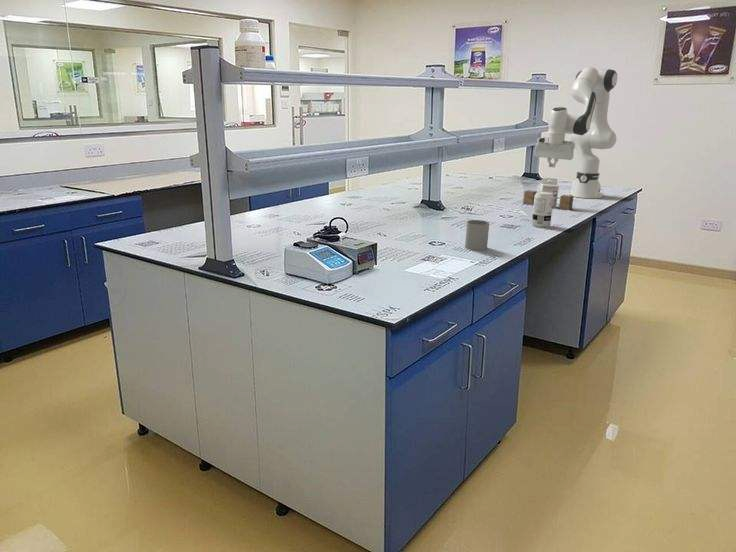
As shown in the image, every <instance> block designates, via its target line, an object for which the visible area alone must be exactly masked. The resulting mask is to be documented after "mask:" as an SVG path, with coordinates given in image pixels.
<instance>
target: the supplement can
mask: <svg viewBox="0 0 736 552" xmlns="http://www.w3.org/2000/svg"><path fill="white" fill-rule="evenodd" d="M553 200H554V196H553V193H550V192H540V191H537V193H536V194H535V197H534V205H532V207H533V208H532V214H531V216H532V217H531V225H532V226H533V227H535V228H544V227H545V228H549V227H550V226H551V222H552V215H553V208H554V207H553ZM545 228H544V229H545Z"/></svg>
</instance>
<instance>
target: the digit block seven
mask: <svg viewBox="0 0 736 552" xmlns="http://www.w3.org/2000/svg"><path fill="white" fill-rule="evenodd" d="M537 192H538V191H537V190H530V189H527V190H525V191H524V193H523V203H522V204H523V205H527V206H534V197H535V194H536V193H537Z"/></svg>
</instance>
